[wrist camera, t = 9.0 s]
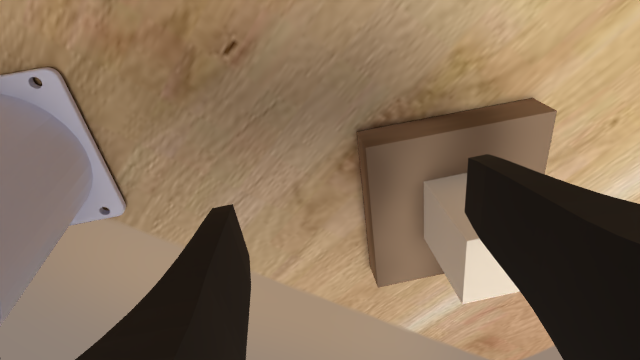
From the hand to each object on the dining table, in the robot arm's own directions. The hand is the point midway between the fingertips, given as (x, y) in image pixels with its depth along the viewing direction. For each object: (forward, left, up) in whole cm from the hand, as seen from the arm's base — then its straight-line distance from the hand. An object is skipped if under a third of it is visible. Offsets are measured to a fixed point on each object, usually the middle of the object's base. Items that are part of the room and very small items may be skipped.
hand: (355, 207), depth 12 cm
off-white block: (+7, -7, -7) cm, 12 cm away
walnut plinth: (+7, -7, -9) cm, 14 cm away
